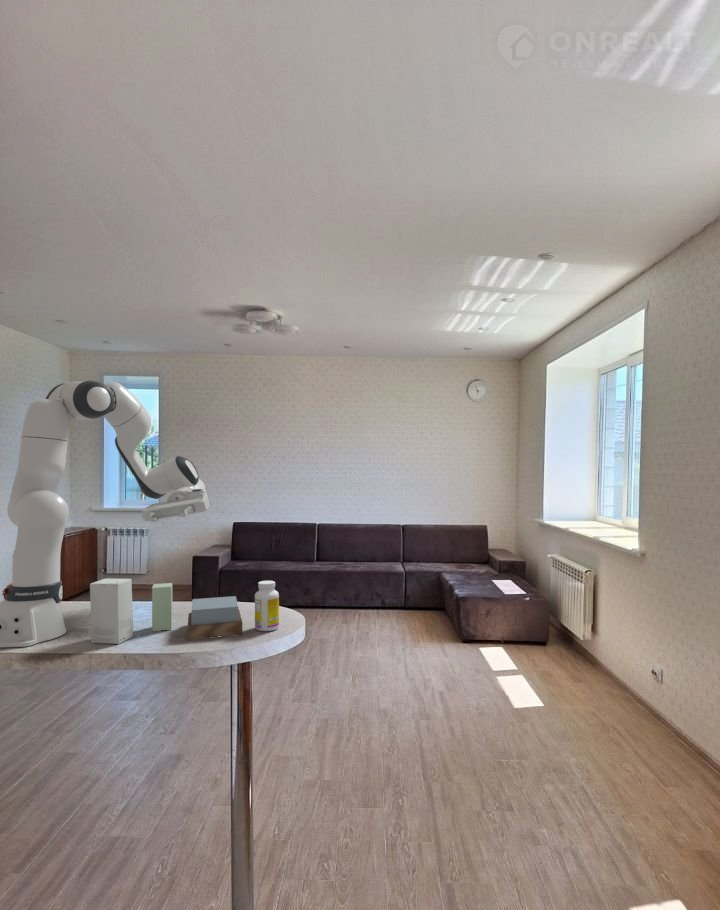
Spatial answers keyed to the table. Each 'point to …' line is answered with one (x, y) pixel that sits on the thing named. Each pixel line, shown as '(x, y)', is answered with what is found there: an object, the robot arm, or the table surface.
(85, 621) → the table surface
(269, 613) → the supplement bottle
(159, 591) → the sage block
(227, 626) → the tower bottom block
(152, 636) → the table surface
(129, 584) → the skincare box
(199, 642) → the table surface
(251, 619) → the table surface
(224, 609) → the tower top block
